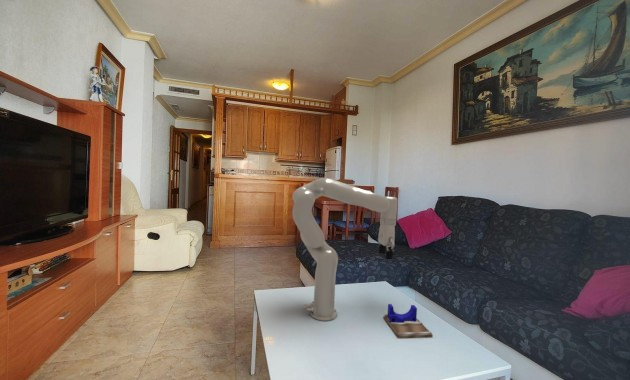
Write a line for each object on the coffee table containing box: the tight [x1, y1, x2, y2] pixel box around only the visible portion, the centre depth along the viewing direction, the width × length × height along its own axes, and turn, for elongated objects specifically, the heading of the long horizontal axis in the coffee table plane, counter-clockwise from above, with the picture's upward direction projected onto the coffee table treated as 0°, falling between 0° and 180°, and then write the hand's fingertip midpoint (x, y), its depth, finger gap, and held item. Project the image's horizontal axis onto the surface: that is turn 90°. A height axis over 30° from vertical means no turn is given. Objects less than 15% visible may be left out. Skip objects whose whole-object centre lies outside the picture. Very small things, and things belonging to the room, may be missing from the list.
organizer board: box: [382, 313, 433, 339], centre depth 114 cm, size 15×15×2 cm
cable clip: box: [387, 303, 418, 323], centre depth 117 cm, size 12×4×6 cm, turn 90°
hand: (385, 256), depth 129 cm, fingers open, 9 cm apart
